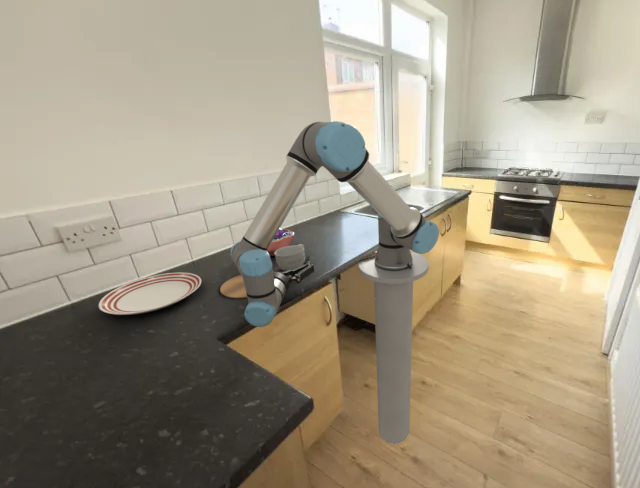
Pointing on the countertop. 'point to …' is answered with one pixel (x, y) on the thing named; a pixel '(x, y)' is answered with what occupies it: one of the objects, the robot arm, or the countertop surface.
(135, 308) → the dinner plate
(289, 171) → the robot arm
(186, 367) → the countertop surface
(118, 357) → the countertop surface
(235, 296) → the cork mat
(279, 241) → the cell model
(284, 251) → the teacup
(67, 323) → the countertop surface
